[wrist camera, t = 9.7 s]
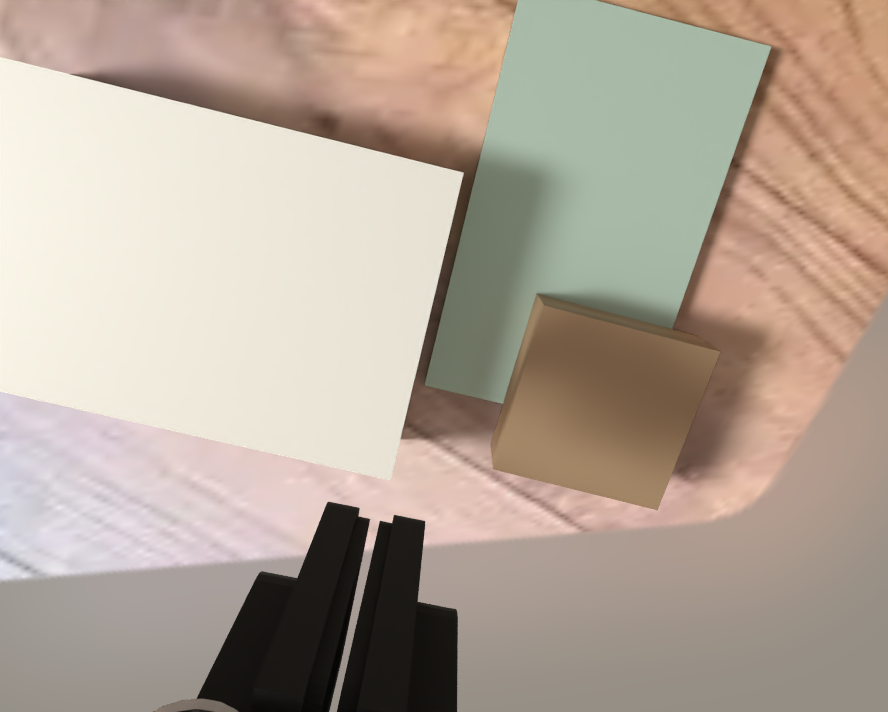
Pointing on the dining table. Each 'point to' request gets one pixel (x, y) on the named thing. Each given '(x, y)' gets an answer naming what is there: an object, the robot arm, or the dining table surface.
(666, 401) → the block
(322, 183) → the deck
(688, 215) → the mat
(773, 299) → the dining table surface
